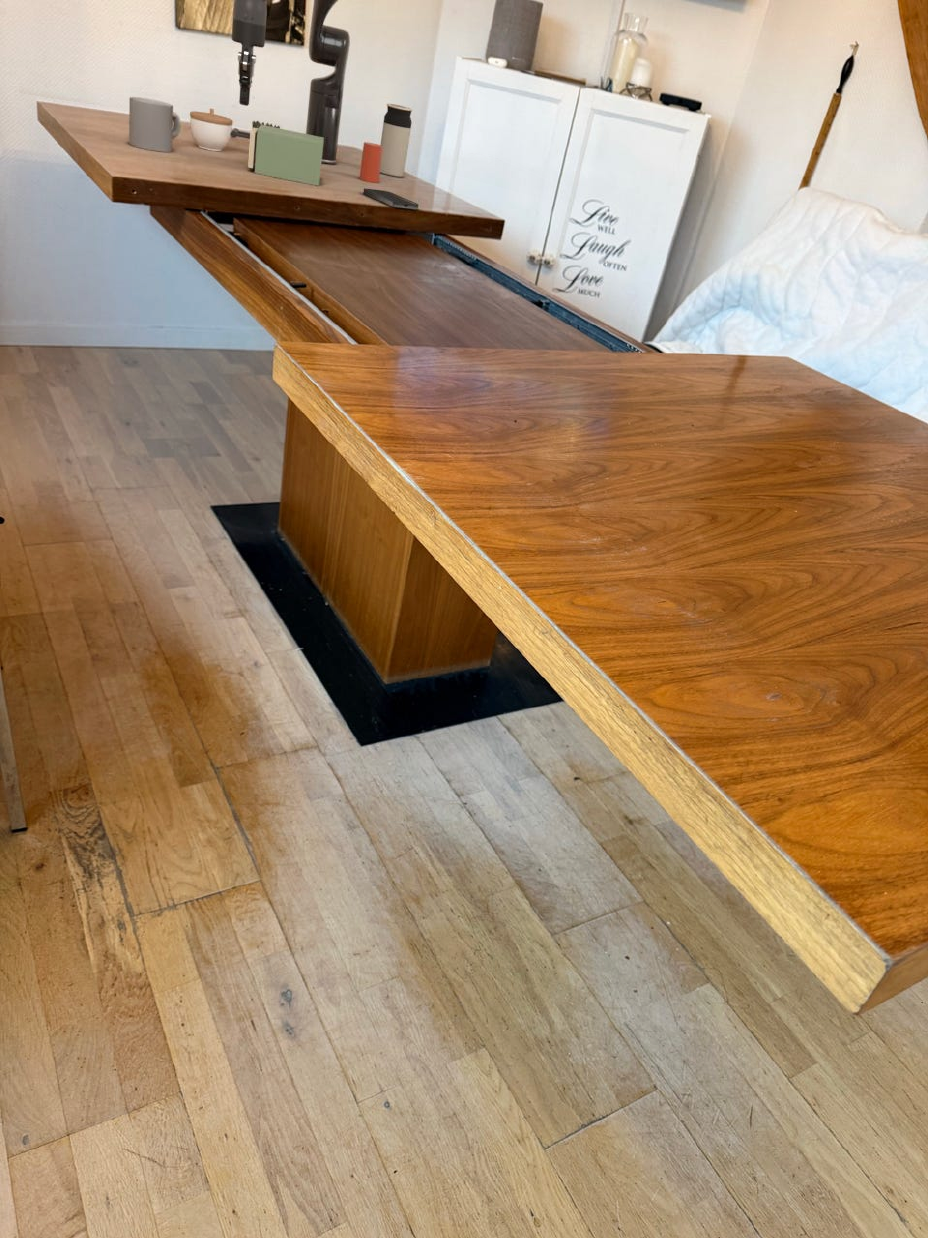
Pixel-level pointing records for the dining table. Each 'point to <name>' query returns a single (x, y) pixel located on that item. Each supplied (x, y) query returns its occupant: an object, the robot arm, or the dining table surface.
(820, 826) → the dining table surface
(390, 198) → the phone
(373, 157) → the tea tin
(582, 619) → the dining table surface
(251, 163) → the drawer
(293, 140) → the cabinet
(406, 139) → the travel mug
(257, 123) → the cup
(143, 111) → the coffee mug
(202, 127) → the lidded white pot
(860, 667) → the dining table surface
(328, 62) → the robot arm
